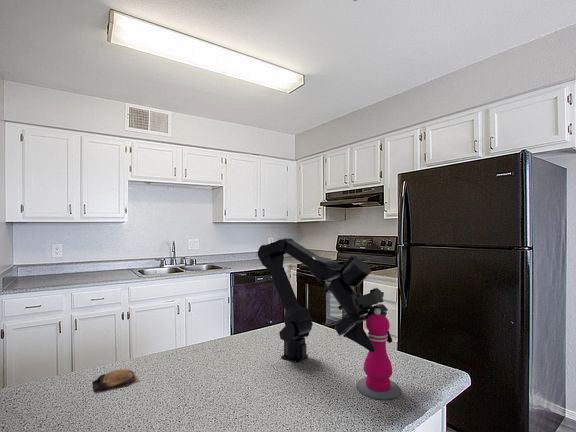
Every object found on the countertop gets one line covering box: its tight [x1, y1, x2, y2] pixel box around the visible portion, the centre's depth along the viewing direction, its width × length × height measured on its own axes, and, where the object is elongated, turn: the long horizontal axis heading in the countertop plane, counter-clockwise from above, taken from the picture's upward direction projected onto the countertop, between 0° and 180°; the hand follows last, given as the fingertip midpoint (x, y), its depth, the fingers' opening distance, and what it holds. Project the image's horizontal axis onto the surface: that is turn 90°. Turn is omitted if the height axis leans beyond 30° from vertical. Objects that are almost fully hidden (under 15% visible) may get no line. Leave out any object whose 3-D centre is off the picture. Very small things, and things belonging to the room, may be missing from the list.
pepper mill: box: [363, 308, 393, 392], centre depth 85 cm, size 7×7×20 cm
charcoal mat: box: [356, 376, 401, 401], centre depth 84 cm, size 11×11×1 cm
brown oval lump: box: [92, 368, 140, 393], centre depth 87 cm, size 11×8×4 cm
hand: (382, 346), depth 84 cm, fingers open, 9 cm apart
